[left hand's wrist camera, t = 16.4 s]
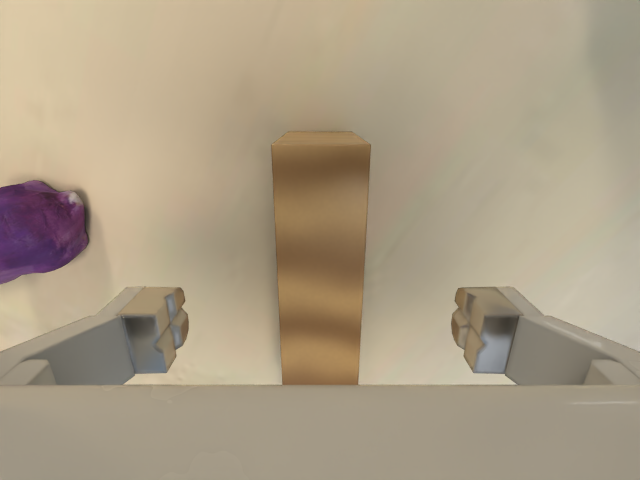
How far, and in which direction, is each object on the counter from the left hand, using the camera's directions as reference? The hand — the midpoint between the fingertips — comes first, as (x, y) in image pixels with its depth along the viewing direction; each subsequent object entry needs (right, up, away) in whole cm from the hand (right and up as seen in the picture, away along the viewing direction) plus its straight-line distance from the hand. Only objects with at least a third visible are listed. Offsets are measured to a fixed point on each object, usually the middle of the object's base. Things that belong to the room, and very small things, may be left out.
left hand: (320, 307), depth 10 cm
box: (0, 0, +26) cm, 26 cm away
